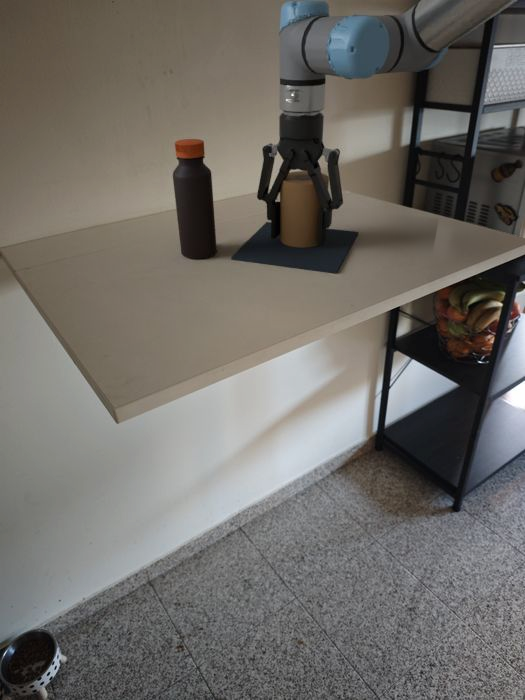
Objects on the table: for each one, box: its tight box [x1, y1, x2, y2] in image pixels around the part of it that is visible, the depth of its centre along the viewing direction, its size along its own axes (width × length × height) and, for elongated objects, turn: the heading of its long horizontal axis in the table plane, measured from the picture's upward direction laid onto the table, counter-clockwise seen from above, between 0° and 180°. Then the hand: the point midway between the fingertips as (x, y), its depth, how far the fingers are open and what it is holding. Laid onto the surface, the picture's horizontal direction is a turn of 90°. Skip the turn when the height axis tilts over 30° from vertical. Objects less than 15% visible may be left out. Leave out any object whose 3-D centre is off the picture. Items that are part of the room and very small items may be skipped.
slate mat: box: [230, 221, 359, 275], centre depth 97 cm, size 20×20×1 cm
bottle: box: [172, 138, 218, 260], centre depth 90 cm, size 7×7×20 cm
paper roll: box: [279, 170, 330, 248], centre depth 96 cm, size 12×9×9 cm
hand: (298, 239), depth 97 cm, fingers closed on paper roll, 9 cm apart
